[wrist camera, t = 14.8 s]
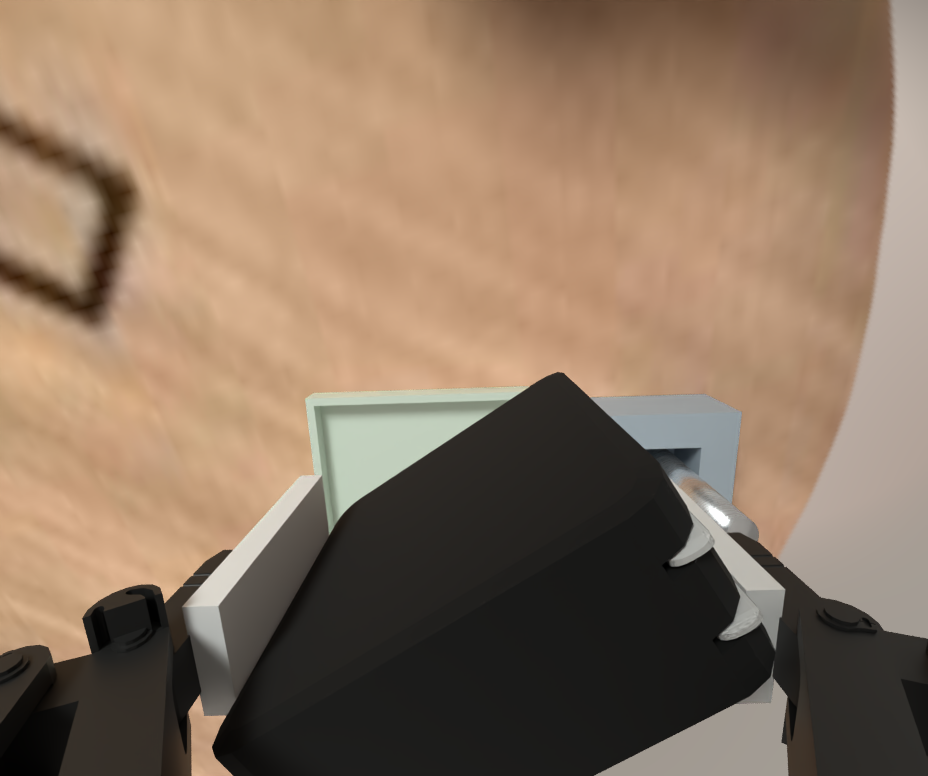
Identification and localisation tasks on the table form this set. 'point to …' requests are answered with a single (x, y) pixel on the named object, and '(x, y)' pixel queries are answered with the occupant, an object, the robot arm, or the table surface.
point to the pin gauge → (705, 495)
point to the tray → (386, 434)
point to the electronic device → (503, 614)
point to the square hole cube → (684, 431)
